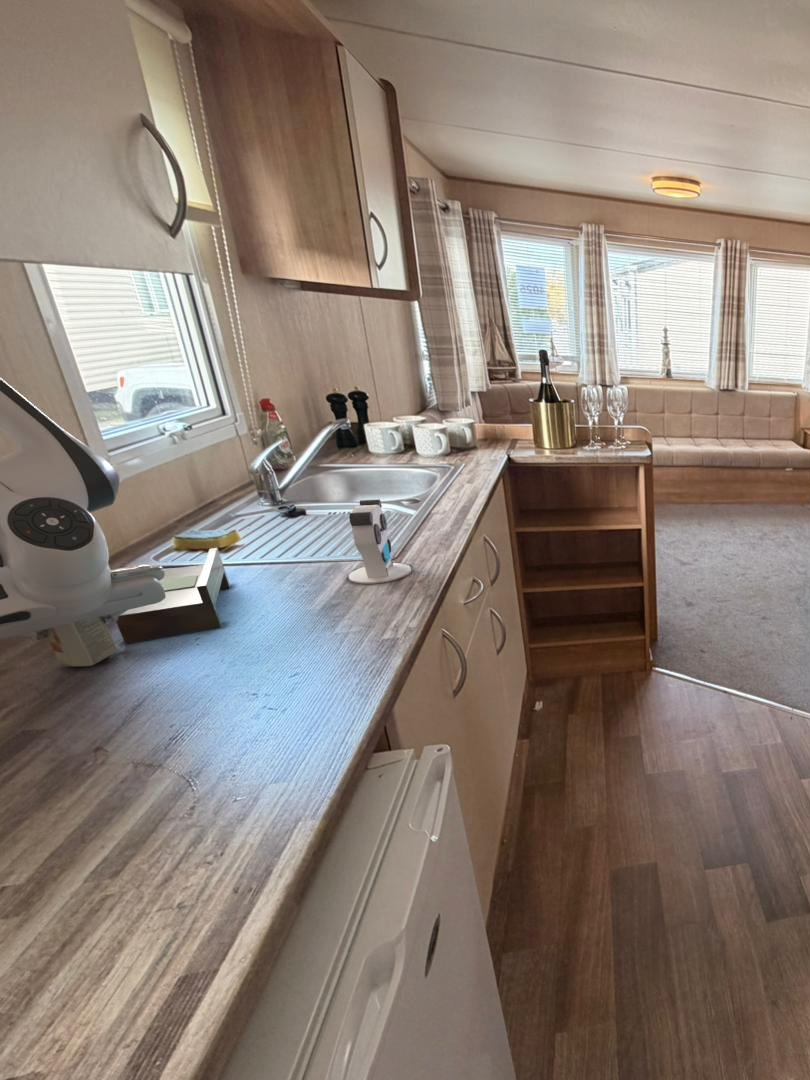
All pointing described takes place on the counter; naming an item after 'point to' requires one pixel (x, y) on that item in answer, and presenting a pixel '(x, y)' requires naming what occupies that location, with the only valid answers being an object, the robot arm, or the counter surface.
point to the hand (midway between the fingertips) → (73, 626)
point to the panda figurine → (373, 545)
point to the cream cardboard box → (81, 642)
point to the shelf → (179, 603)
